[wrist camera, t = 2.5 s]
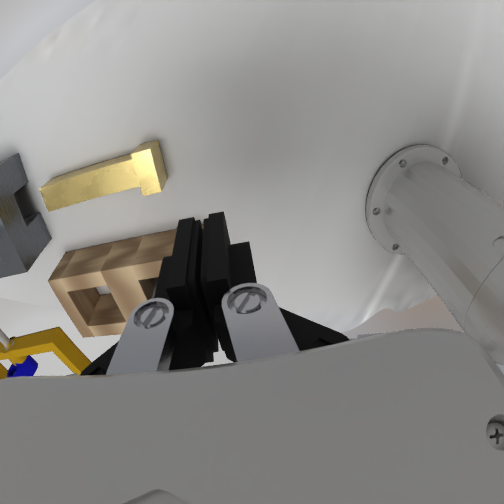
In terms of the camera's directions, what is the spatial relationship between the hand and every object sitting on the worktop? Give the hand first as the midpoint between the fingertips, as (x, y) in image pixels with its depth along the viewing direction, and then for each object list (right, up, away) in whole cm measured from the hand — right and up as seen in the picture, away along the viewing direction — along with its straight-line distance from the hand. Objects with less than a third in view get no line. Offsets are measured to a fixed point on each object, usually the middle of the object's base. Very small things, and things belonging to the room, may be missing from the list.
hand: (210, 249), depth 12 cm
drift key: (-12, +7, +13) cm, 19 cm away
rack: (-10, -2, +20) cm, 22 cm away
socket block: (-25, +5, +13) cm, 29 cm away
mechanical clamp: (-34, -17, +27) cm, 46 cm away
